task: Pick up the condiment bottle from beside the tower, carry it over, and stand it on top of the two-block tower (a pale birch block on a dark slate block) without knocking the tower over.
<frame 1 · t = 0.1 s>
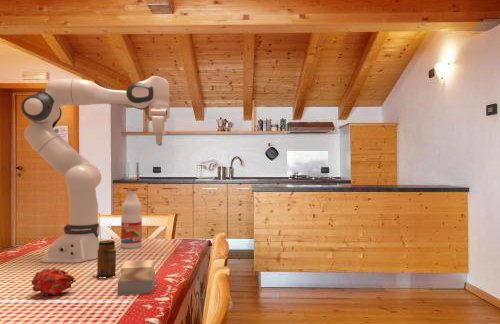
hand: (159, 145, 164), 48 cm above the table, tool pointing down, fingers open, 8 cm apart
dragon fruit: (53, 294, 112), on the table
tower block lower: (137, 289, 117), on the table, touching tower block upper
fruit juice: (131, 247, 179), on the table
tower block upper: (137, 276, 117), point 4 cm above the table, touching tower block lower
condiment: (106, 276, 130), on the table
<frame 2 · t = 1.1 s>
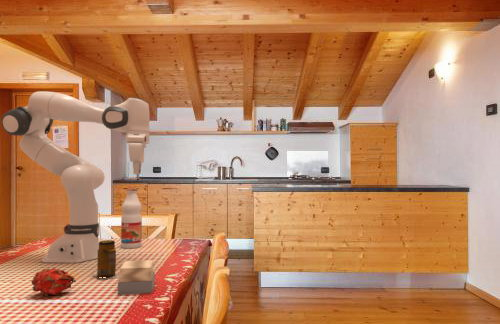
hand: (137, 173, 148), 35 cm above the table, tool pointing down, fingers open, 8 cm apart
nothing on the table moved.
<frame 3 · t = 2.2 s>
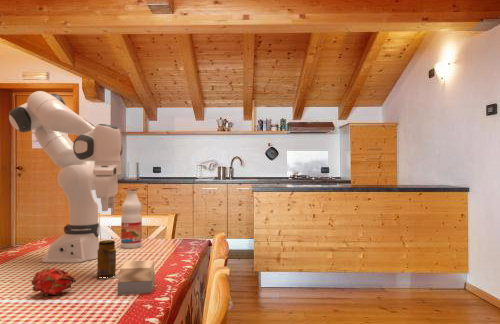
hand: (107, 209, 131), 23 cm above the table, tool pointing down, fingers open, 8 cm apart
nothing on the table moved.
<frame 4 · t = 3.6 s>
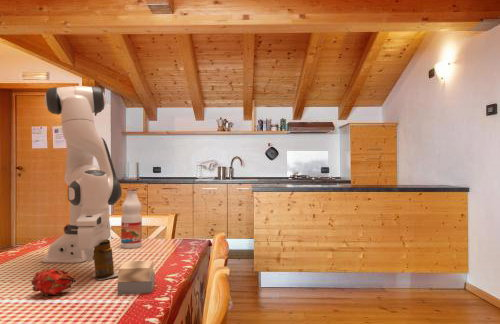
hand: (95, 257, 129), 7 cm above the table, tool pointing down, fingers open, 8 cm apart
condiment: (105, 276, 130), on the table, touching gripper
everything else where it was.
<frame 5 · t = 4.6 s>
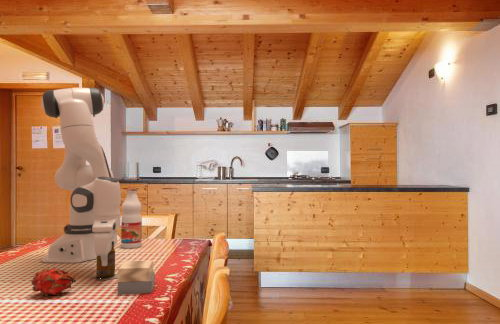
hand: (106, 262, 130), 5 cm above the table, tool pointing down, fingers closed on condiment, 6 cm apart
condiment: (106, 277, 129), on the table, touching gripper
everything else where it was.
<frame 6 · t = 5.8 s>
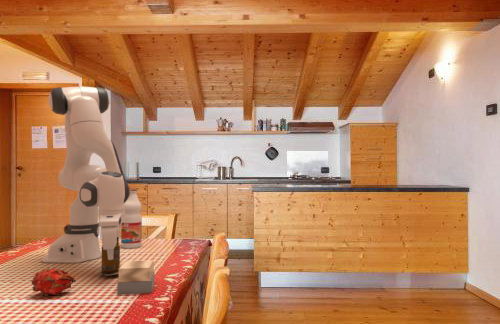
hand: (112, 256, 132), 6 cm above the table, tool pointing down, fingers closed on condiment, 6 cm apart
condiment: (111, 272, 131), point 1 cm above the table, touching gripper
everything else where it was.
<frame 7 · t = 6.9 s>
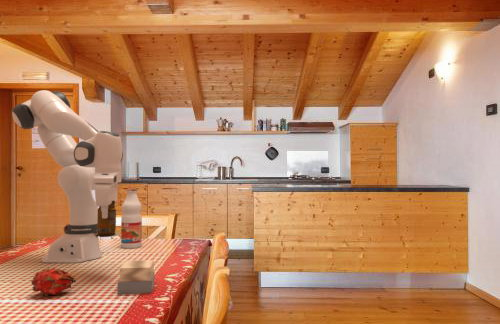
hand: (107, 216, 131), 21 cm above the table, tool pointing down, fingers closed on condiment, 6 cm apart
condiment: (107, 235, 130), point 14 cm above the table, touching gripper
everything else where it was.
when the fingers open (14 cm above the table, at t = 11.3 s): condiment moves 2 cm, resting on tower block upper.
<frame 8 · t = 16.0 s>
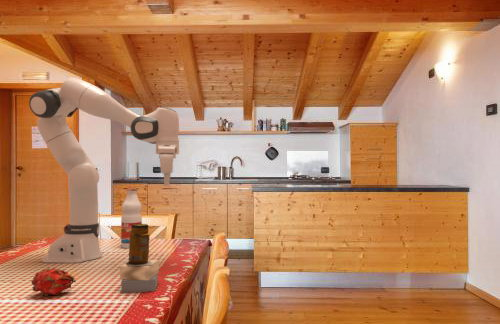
hand: (167, 185, 144), 31 cm above the table, tool pointing down, fingers open, 8 cm apart
tower block lower: (140, 288, 118), on the table, touching tower block upper
tower block upper: (140, 275, 118), point 4 cm above the table, touching condiment, tower block lower
condiment: (138, 263, 118), point 7 cm above the table, touching tower block upper
everything else where it was.
at the end: condiment inside the target area on the tower block upper (0.8 cm from its centre), point 4.0 cm above the tower block upper's base; tower block upper point 3.5 cm above the table; condiment tilted 3° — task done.
